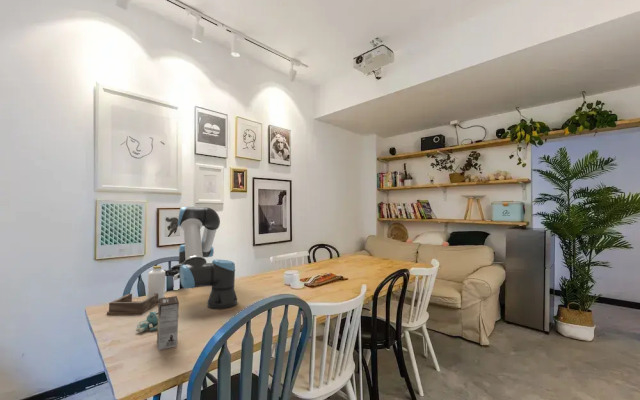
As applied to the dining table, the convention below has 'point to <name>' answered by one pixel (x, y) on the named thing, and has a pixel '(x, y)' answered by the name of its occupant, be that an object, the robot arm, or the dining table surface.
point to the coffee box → (167, 322)
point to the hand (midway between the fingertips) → (162, 277)
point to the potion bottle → (156, 282)
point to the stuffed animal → (149, 322)
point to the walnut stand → (132, 305)
